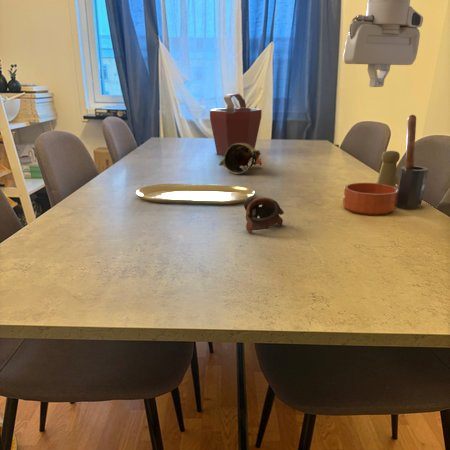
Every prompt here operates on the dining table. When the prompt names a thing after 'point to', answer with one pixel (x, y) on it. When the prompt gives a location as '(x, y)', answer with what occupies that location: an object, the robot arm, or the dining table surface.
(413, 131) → the stirring stick
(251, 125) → the bucket
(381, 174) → the pepper mill
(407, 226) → the dining table surface
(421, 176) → the utensil pot
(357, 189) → the bowl
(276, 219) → the dark brown hollow piece
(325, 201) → the dining table surface
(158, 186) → the serving platter
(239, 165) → the pot
